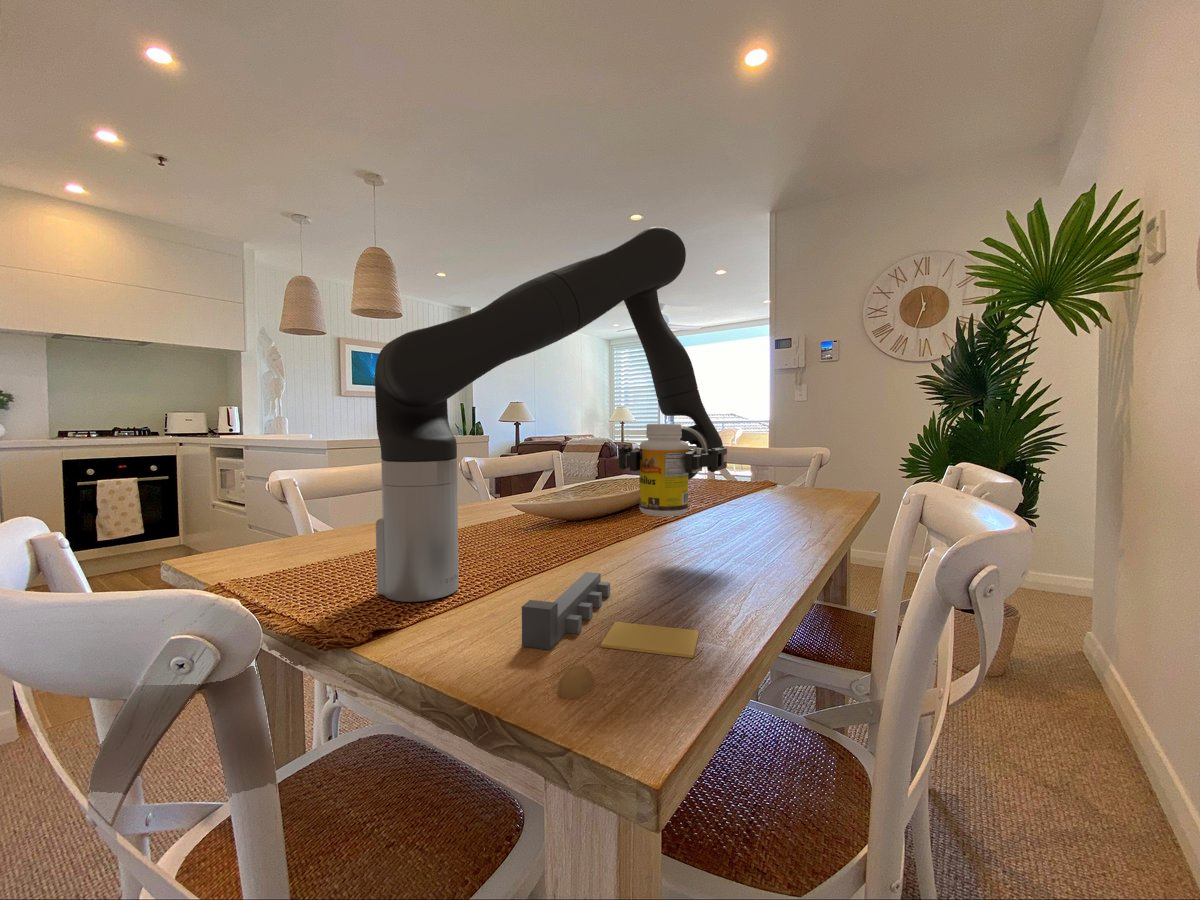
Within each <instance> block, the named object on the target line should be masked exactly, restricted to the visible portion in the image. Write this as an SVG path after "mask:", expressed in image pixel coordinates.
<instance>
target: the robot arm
mask: <svg viewBox="0 0 1200 900" xmlns="http://www.w3.org/2000/svg"><path fill="white" fill-rule="evenodd" d="M686 252H687V251H686V246H685V243H684V241H683V239H682V237H680V236H679V235H678V234H677V233H676V232H675V231H674V230H671V229H670V228H667V227H664V226H651V227H648V228H645V229H644V230H642V231H640V232H639V233H637V234H636V235H635V236H633V237H632V238H631V239H629V240H627V241H625V242H624V243H622V244H620V245H618V246H617V247H615V248H613V249H611V250H609V251H606V252H604V253H601V254H598V255H594V256H592V257H589V258H585V259H582V260H580V261H577V262H573V263H571V264H568V265H565V266H563V267H560V268H558V269H554V270H551V271H549V272H546V273H544V274H542V275H540V276H537V277H534V278H532V279H530V280H528V281H526V282H525V281H524V282H523V283H521V284H519V285H518V286H516V287H514V288H512V289H510V290H508V291H507V292H504V293H503V294H502V295H501V296H499V297H498V298H496V299H495V300H493V301H492V302H490V303H489V304H487V305H485V307H483V308H481V309H478V310H476V311H475V312H471V313H469V314H467V315H464V316H460V317H458V318H453V319H451V320H448V321H446V322H442V323H438V324H435V325H431V326H428V327H423V328H419V329H415V330H411V331H408V332H405V333H404V334H402V335H401V334H400V336H397V337H396V338H394V339H392V340H390V341H389V342H388V343H387V344H385V346H383V347H382V349H380V352H379V353H378V355H377V358H376V362H375V369H374V394H375V415H376V416H375V417H376V418H375V419H376V422H375V423H376V433H377V437H378V440H379V445H380V459H381V462H380V463H381V501H382V504H381V505H382V518H379V519H377V520H376V522H375V544H376V545H375V546H376V547H375V549H376V550H375V551H376V552H375V553H376V554H375V555H376V559H375V560H376V594H377V595H383V596H384V597H385V598H387V599H389V600H391V601H397V602H406V603H407V602H409V603H412V602H425V601H432V600H437V599H440V598H444V597H447V596H450V595H451V594H453V593H455V592H456V591H458V589H459V587H460V586H459V576H460V572H459V514H458V513H459V512H458V510H459V508H458V507H459V505H458V504H459V503H458V501H459V499H458V491H459V490H458V447H457V446H458V445H457V439H456V437H455V435H454V434H453V432H452V430H451V427H450V422H449V413H448V410H449V409H448V399H450V398H451V397H453V396H454V395H455V394H457V393H459V392H460V391H462V390H463V389H464V388H466V387H467V386H469V385H470V384H472V383H474V382H475V381H476V380H478V379H480V378H481V377H482V376H484V375H485V374H487V373H489V372H490V371H492V370H493V369H495V368H497V367H499V366H500V365H503V364H504V363H507V362H508V361H511V360H514V359H516V358H519V357H523V356H525V355H528V354H531V353H533V352H536V351H538V350H539V351H540V350H541V349H544V348H545V347H547V346H550V345H552V344H555V343H557V342H559V341H562V340H563V339H564V338H566V337H568V336H570V335H572V334H574V333H577V332H578V331H579V330H582V329H583V328H585V327H587V326H588V325H589V324H591V323H593V322H594V321H596V320H597V319H599V318H600V317H602V316H603V315H605V314H606V313H608V312H609V311H611V310H612V309H613V308H615V307H616V306H618V305H619V304H620V303H622V302H624V304H625V307H626V309H627V312H628V314H629V317H630V319H631V321H632V324H633V326H634V329H635V332H636V333H637V336H638V339H639V340H640V344H641V345H642V346H641V347H642V348H643V351H644V355H645V357H646V360H647V364H648V367H649V371H650V374H651V378H652V383H653V387H654V391H655V396H656V399H657V403H658V407H659V410H660V412H661V414H662V415H663V416H667V417H676V416H685V417H689V418H690V419H691V420H692V421H693V423H694V425H689V426H683V425H681V432H682V434H681V435H682V437H681V438H680V441H685V442H686V443H687V444H688V448H689V452H687V453H686V473H688V481H689V480H691V479H693V478H694V477H695V476H696V475H697V474H698V473H700V472H702V471H703V468H707V471H708V472H711V473H715V472H719V471H721V470H724V469H727V467H728V466H727V465H728V448H727V447H725V446H723V440H722V437H721V436H720V434H719V432H718V430H717V428H716V426H714V423H713V422H712V420H711V418H710V416H709V414H708V412H707V410H706V408H705V406H704V404H703V401H702V398H701V395H700V392H699V388H698V384H697V379H696V376H695V370H694V366H693V364H692V361H691V360H692V359H691V358H690V356H689V353H688V352H687V350H686V349H685V347H684V346H683V344H682V342H681V341H680V340H679V339H678V337H677V336H676V335H675V334H674V332H673V330H672V329H671V328H670V327H669V325H668V323H667V322H666V320H665V318H664V315H663V313H662V310H661V307H660V301H659V296H658V290H660V289H661V288H664V287H665V286H668V285H670V284H672V282H674V281H675V280H676V279H677V278H678V276H680V274H681V273H682V271H683V269H684V266H685V263H686V256H687V254H686ZM617 449H618V450H617V452H618V455H617V456H618V461H617V466H618V467H617V468H618V469H620V470H626V469H629V471H630V472H639V470H640V458H639V457H640V447H633V446H629V445H627V444H623V445H620V446H619V447H618V448H617Z"/></svg>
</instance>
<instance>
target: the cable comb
mask: <svg viewBox="0 0 1200 900" xmlns="http://www.w3.org/2000/svg"><path fill="white" fill-rule="evenodd" d="M601 575H602V574H601V573H600V572H590V571H585V572H584V573H583V574H582V575H581V576H580V577H579V578H578V579H577V580H575V582H574V583H572V584H571V585H570V586H569V587H568V588H567V589H566V590H565V591H564V592H563V593H561V594H560V595H559V596H558V597H557V598H556V599H555V600H554V601H546V600H536V599H529V600H528V601H526V602H525V603H524V604H523V605H522V606H521V647H524V648H531V649H538V650H539V649H540V650H549V651H551V650H552V649H553V648H554V646H555V645H556V644H557V643H558V642H559V641H560V640H561V638H562V637H564V635H565V634H566V633H568V634H577V635H578V634H580V633H581V631H582V629H583V621H584V620H587V621H590V620H591V619H592V618H593V608H597V609H599V608H600V607H602V605H603V598H609V596H610V595H611V582H607V581H601V579H602V578H601Z"/></svg>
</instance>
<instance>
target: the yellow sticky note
mask: <svg viewBox="0 0 1200 900" xmlns="http://www.w3.org/2000/svg"><path fill="white" fill-rule="evenodd" d="M699 635H700V630H697V629H696V630H695V629H687V628H679V627H678V628H677V627H669V626H658V625H653V624H652V625H651V624H643V623H641V624H640V623H633V622H632V623H630V622H622V621H614V623H613V625H612V626H611V628H610V629H609V631H608V632H607V634H606V636H605V637H604V638H603V640H602V641H601V643H600V648H608V649H615V650H622V651H631V652H632V651H633V652H639V653H648V654H657V655H664V656H673V657H674V656H675V657H679V658H688V659H694V657H695V651H696V648H697V643H698V639H699Z"/></svg>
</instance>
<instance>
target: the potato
mask: <svg viewBox="0 0 1200 900" xmlns="http://www.w3.org/2000/svg"><path fill="white" fill-rule="evenodd" d="M593 683H594V680H593V674H592V672H591V671H590V669H589V668H588V667H587V666H584V665H573V666H572V667H570V668H568V669H566V671H565V672H564V673H563V674H562V676H561V679H560V680H559V685H558V692H557V694H558V695H559V696H560V697H561V698H563V699H566V700H567V699H568V700H575V699H579V698H581V697H583V696H585V695H586V694H587V693H588V692H589V691H591V690H592V687H593V685H594V684H593Z"/></svg>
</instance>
